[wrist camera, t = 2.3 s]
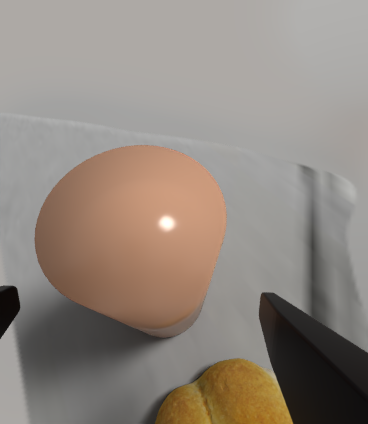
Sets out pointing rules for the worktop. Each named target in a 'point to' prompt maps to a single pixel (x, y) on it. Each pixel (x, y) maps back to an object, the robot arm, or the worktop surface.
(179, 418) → the bread roll
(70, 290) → the peach cylinder
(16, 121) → the worktop surface
